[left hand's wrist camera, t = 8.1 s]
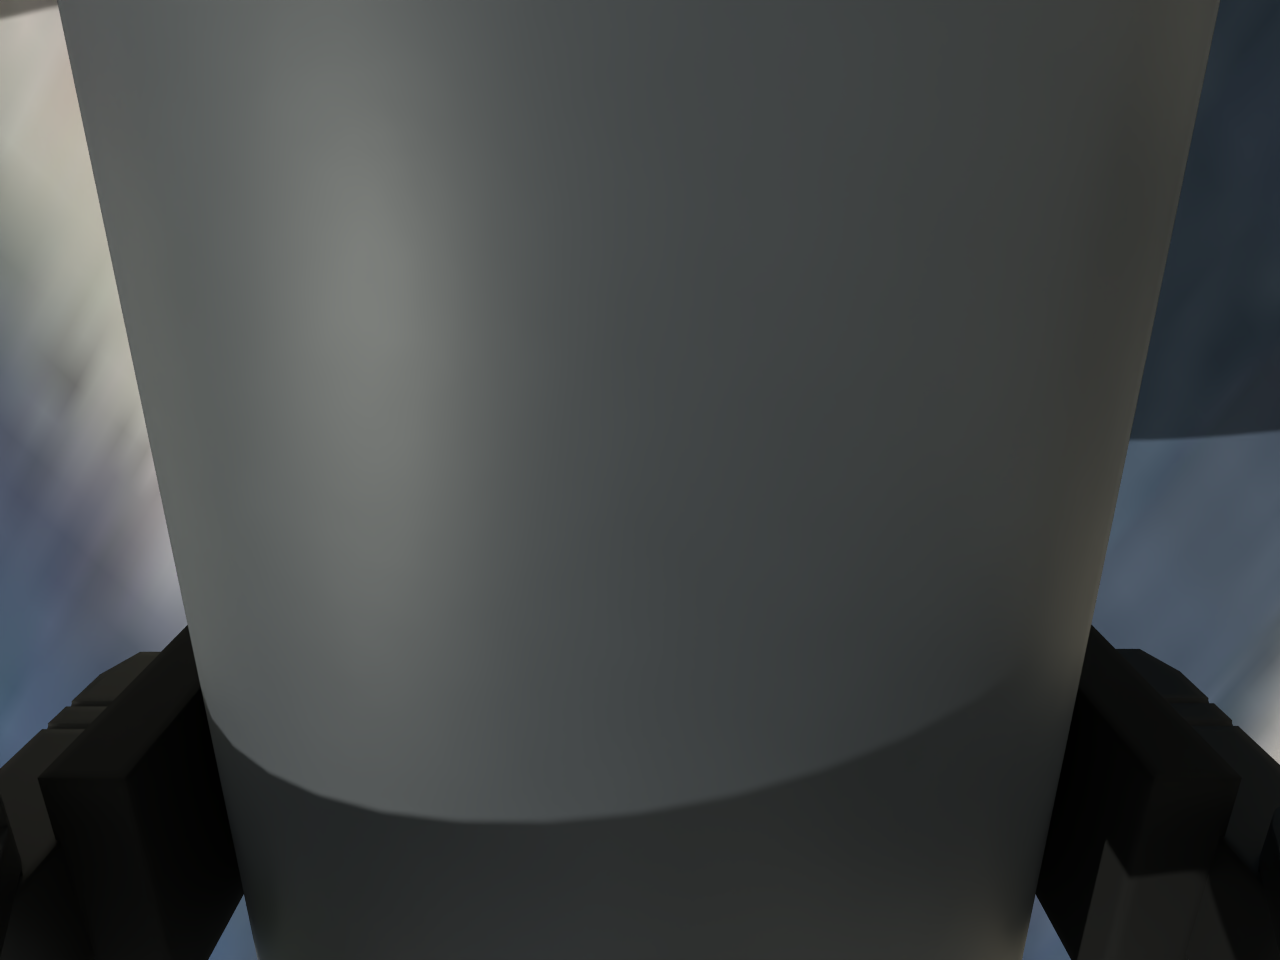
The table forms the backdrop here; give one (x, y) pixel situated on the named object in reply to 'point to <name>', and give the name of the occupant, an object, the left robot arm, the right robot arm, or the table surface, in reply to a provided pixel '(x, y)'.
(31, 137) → the table surface
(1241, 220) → the table surface
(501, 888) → the dark grey cylinder
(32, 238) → the table surface
